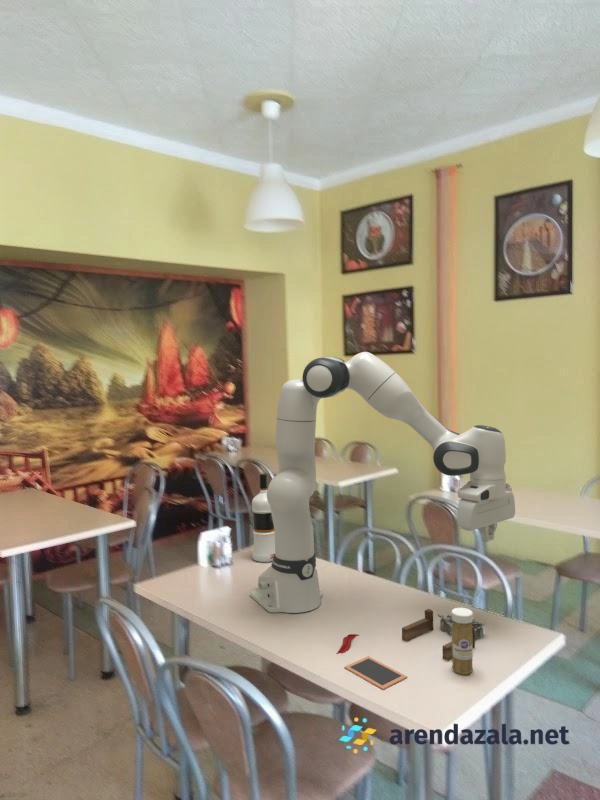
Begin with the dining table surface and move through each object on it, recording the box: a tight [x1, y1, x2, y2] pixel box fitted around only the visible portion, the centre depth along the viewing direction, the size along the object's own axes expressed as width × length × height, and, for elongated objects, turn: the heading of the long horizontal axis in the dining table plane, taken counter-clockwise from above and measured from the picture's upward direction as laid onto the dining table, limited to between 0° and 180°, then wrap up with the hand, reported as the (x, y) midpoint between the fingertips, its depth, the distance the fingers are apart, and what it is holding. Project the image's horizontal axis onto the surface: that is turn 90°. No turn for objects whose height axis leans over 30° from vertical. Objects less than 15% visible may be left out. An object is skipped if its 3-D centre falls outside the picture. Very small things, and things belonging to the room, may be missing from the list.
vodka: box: [251, 473, 275, 563], centre depth 213 cm, size 9×9×30 cm
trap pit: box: [344, 655, 408, 691], centre depth 135 cm, size 12×8×1 cm, turn 38°
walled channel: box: [401, 608, 476, 662], centre depth 148 cm, size 14×10×5 cm
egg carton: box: [437, 613, 487, 639], centre depth 153 cm, size 11×8×4 cm
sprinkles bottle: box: [451, 607, 474, 676], centre depth 134 cm, size 5×5×13 cm
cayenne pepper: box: [336, 633, 360, 655], centre depth 149 cm, size 12×5×2 cm, turn 138°
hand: (487, 540), depth 159 cm, fingers closed
